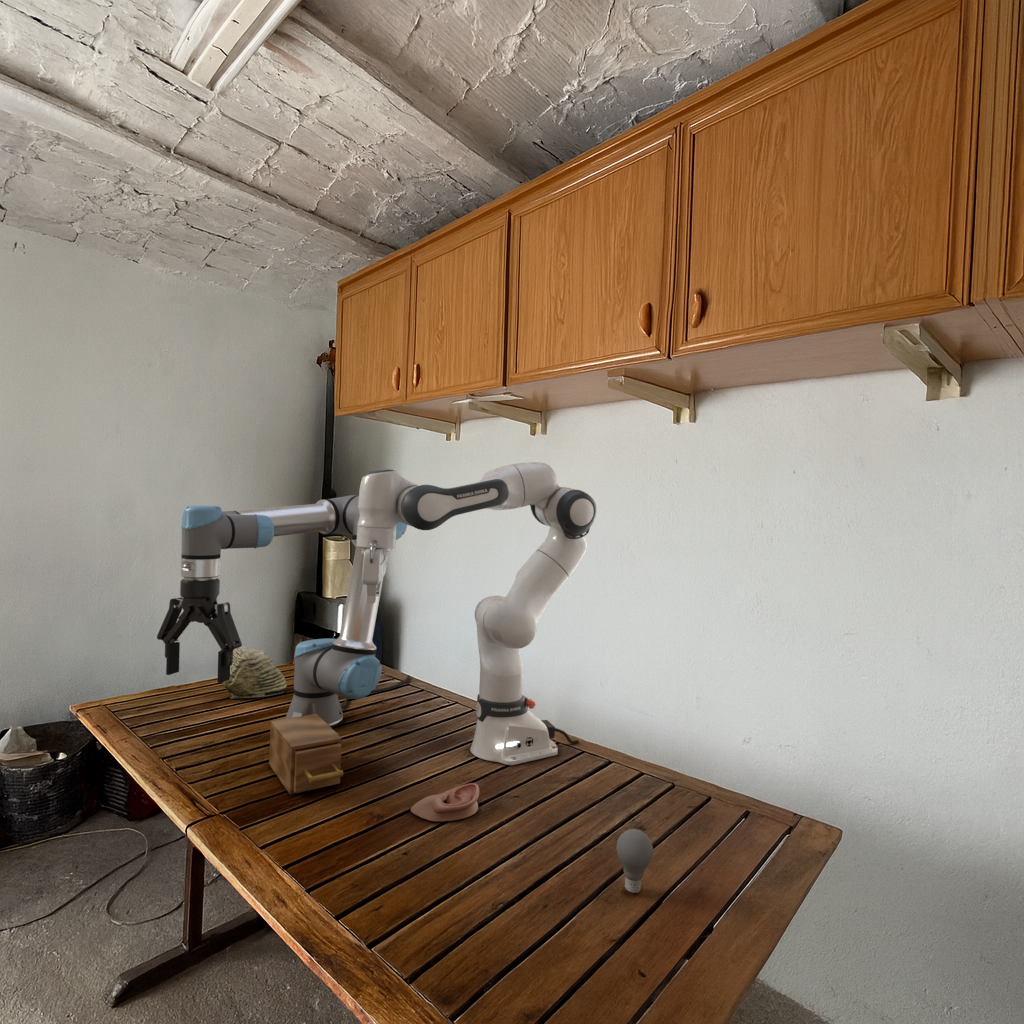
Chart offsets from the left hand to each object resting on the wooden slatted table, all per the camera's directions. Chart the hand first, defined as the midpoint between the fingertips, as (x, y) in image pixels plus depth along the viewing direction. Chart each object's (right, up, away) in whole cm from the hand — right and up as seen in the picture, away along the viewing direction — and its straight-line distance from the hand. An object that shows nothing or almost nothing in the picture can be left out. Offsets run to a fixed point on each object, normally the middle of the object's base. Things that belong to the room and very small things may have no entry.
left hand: (197, 677), depth 135 cm
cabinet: (+19, -24, +9) cm, 33 cm away
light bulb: (+87, -28, -29) cm, 96 cm away
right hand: (+35, +15, +11) cm, 40 cm away
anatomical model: (+53, -26, -4) cm, 60 cm away
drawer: (+22, -24, +5) cm, 33 cm away
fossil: (-14, -22, +63) cm, 68 cm away
